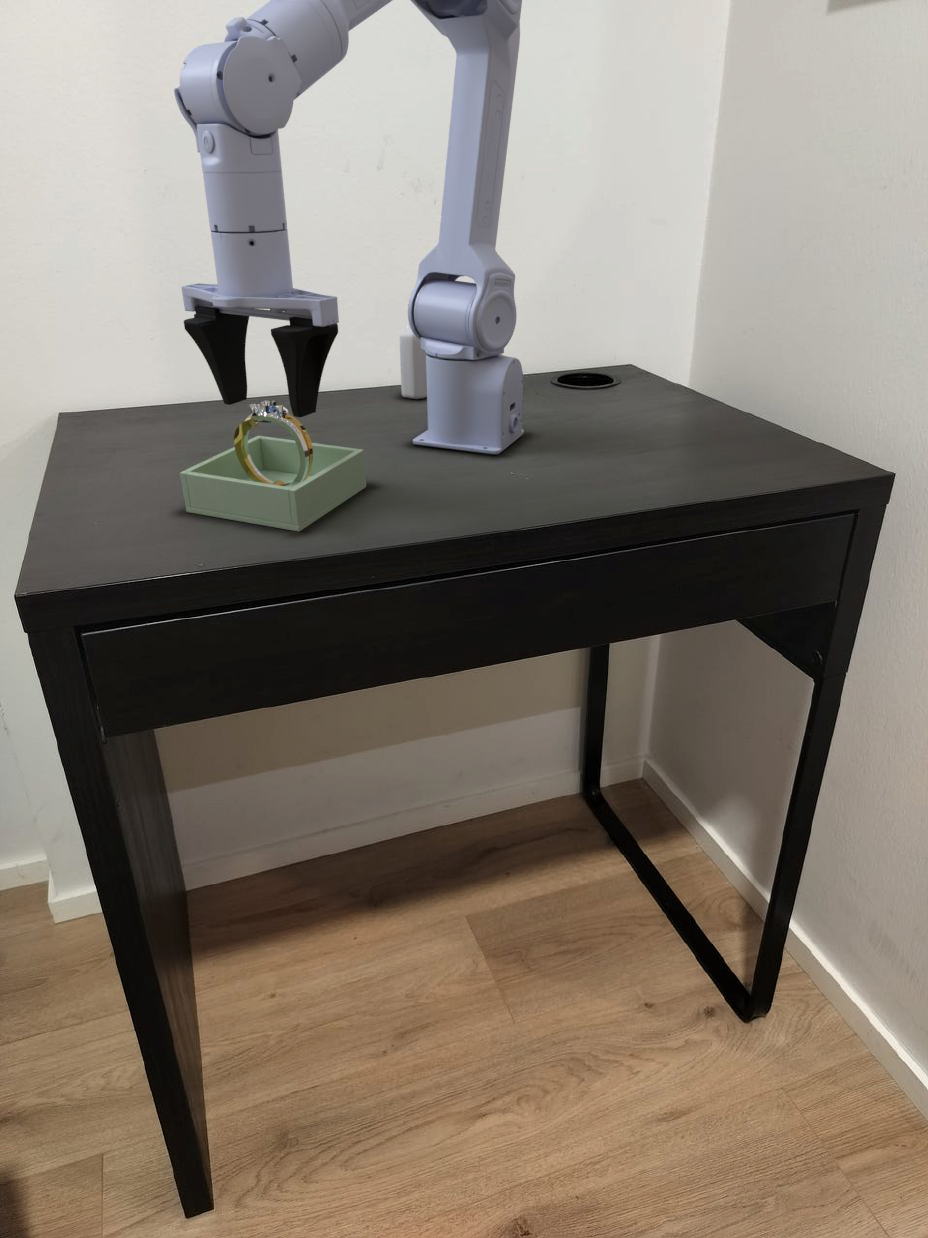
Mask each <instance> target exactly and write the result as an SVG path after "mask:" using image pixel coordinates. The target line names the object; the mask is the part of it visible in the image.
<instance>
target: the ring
mask: <svg viewBox="0 0 928 1238" xmlns="http://www.w3.org/2000/svg"><path fill="white" fill-rule="evenodd" d="M248 407H249V410H250V414H249V415H247V417H246V418H245V419H244V420H243V421H242V422H241V423H240V424H239V425H238V426H237V427H236V429H235V431H234V435H233V445H234V446H233V447H235V451H236V454H237V457H238V459H239V462H240V464H241V466H242V467H243V469H244V470H245V472H246V473H247V475H248V476H249V477H250V478H251V479H252V480H253V481H254V482H260V483H267V484H273V485H279V486H286V487H292V488H293V487H295V486H296V485H298V484H300V483H301V482H303V481H305V480H306V479H307V477H308V476H309V473H310V471H311V467H312V462H313V449H312V443H313V442H312V440H311V437H310V435H309V432H308V430H307V429H306V427H305V426H304V425H303V424H302V423H301V421H299V420H298V419H297V417H294V416H293V415H291V414H290V413H289V410H288V409H287V408H286V407H284V405H282V404H281V405H280V404H279V405H277V401H276V400H271V401H270V400H263V401H262V402H260V403H259V404H256V403H251V404H248ZM260 423H266V424H267V423H268V424H269V423H274V424H277V425H279V426H281V427H282V428H284V429H285V430H286V431H287V432H288V433H289V434H290V435H291V437H292V439H293V440H295V442H296V444H297V447H298V450H299V454H300V469H299V472H298V475H297V477H296V478H295V480H294V481H293V482H291V483H288V484H284V482H282V481H276V482H273V481H271V480H269V479H267V478H266V477H265V476H263V475H262V474H261V473H260V472H259V471H258V469H257V468H256V466H255V465H254V463H253V461H252V459H251V457H250V454H249V450H248V440H249V436H250V432H251V430H252V429H253V428H254V427H255V426H258V425H259V424H260Z"/></svg>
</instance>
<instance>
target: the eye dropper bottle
mask: <svg viewBox="0 0 928 1238" xmlns="http://www.w3.org/2000/svg"><path fill="white" fill-rule="evenodd" d="M399 361H400V362H399V363H400V364H399V365H400V387H401V388H400V390H401V396H402V397H403V398H405V399H411V400H420V399H427V376H426V351H424V350H421V340H420V339H418V338H417V337H416V336H415V335H414V333H413V332H412V330H411V327H410V324H409V323H408V324H407V325H406V326H404V328H403V329H402V330H401V332H400V334H399Z"/></svg>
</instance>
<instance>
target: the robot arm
mask: <svg viewBox="0 0 928 1238" xmlns="http://www.w3.org/2000/svg"><path fill="white" fill-rule="evenodd" d="M392 1H393V0H269V1H268V2H266V3H265V4H264V5H262V7H260V8H258V9H257V10H256V11H255V12H253V13H252V14H250V15H249V16H248V17H247V18H245V17H244V16H238V17H234V18H233V19H231V20H230V21H229V22H227V23H226V24H225V29H226V31H227V34H226V35H225V37H224V39H223V41H222V42H215V43H205V44H202V45H198V46H196V47H195V48H193V49H192V50H191V51H190V52H189V53H188V54H187V55H186V57H185V59H184V61H183V65H184V66H183V67H182V68H181V69H180V73H179V74H180V75H179V86H177V87H175V88H174V89H173V93H174V97H175V101H176V104H177V107H178V109H179V111H180V114H181V115H182V117H183V118H184V120H185V121H186V122H187V124H188V125H189V126H190V128H191V129H192V132H193V134H194V137H195V143H196V151H197V153H199V155H200V161H201V171H202V178H203V185H204V186H203V187H204V193H205V201H206V208H207V215H208V223H209V230H210V236H211V243H212V251H213V261H214V267H215V273H216V281H217V283H203V282H200V283H193V284H186V285H181V294H182V300H183V306H184V311H185V312H194V314H193V317H191V318H187V319H184V320H183V326H184V330H185V331H186V332H187V334H188V335H189V336H190V338H191V340H192V341H193V342H194V343H195V345H196V346H197V347H198V349H199V351H200V352H201V354H202V356H203V358H204V359H205V361H206V364H208V367H209V370H210V372H211V373H212V376H213V379H214V381H215V384H216V386H217V389H218V391H219V394H220V396H221V399H222V401H223V403H224V405H229V406H231V405H233V404H237V403H241V402H243V401H246V400H247V399H248V378H247V366H246V343H247V332H248V326H249V320H250V317H253V318H254V317H255V318H263V319H270V320H271V319H272V320H279V321H288V322H289V324H287V325H282V326H277V327H274V328H270V335H271V337H272V339H273V342H274V344H275V346H276V348H277V351H278V353H279V356H280V359H281V362H282V365H283V369H284V370H283V371H284V373H285V379H286V383H287V384H286V386H287V392H288V399H289V406H290V409H291V413H292V416H293V417H294V418H304V417H306V416H309V415H312V414H314V413H316V411H317V405H318V397H319V391H320V385H321V380H322V376H323V372H324V368H325V366H326V362H327V359H328V355H329V353H330V351H331V349H332V346H333V344H334V342H335V339H336V338H337V335H338V334H339V325H338V323H339V322H340V321H339V320H340V318H339V306H338V296H335V295H326V294H321V293H316V292H312V291H307V290H303V289H298V288H295V287H294V284H293V275H292V274H293V273H292V265H291V263H292V262H291V252H290V242H289V241H290V240H289V232H288V231H289V229H288V222H287V211H286V209H287V208H286V201H285V199H286V198H285V189H284V177H283V169H282V168H283V167H282V157H281V147H280V138H279V137H280V135H279V130H280V129H284V128H285V127H286V126H287V124H288V122H289V120H290V118H291V115H292V112H293V108H294V101H295V100H297V98H299V97H300V96H302V94H303V93H305V92H306V91H307V90H309V88H311V87H312V86H313V85H314V84H316V83H317V82H318V81H319V80H320V79H322V78H323V77H324V76H325V75H326V74H328V73H329V72H330V71H331V70H332V69H335V67H336V66H337V65H339V64H340V63H341V62H342V61H344V59H345V58H346V56H347V54H348V50H349V43H350V41H349V40H350V36H349V32H351V31H352V30H353V29H354V28H356V27H357V26H359V25H360V24H362V23H363V22H365V20H367V19H369V18H370V17H371V16H373V15H374V14H376V13H377V12H378V11H379V10H381V9H383V8H384V7H386V6H387V5H389V4H390V3H391V2H392ZM410 1H411V3H412V4H413V5H414V6H415V7H416V8H417V9H418V11H420V12H421V14H422V15H423V16H424V17H425V18H426V19H427V20H428V21H429V22H430V24H431V25H433V26H434V28H435V29H436V30H437V31H438V32H439V33H440V34H441V35H442V36H443V37H446V38H447V39H448V40H449V42H450V44H451V45H452V48H453V49H454V51H455V55H456V57H455V68H454V77H453V78H454V79H453V86H452V87H453V89H452V98H451V108H450V120H449V129H448V142H447V150H446V151H447V152H446V160H445V171H444V172H445V173H444V182H443V191H442V192H443V193H442V201H441V202H442V204H441V214H440V223H439V234H438V236H439V237H438V242H437V244H436V245H435V246H434V247H433V248H432V249H431V250H430V251H429V252H428V253H427V254H426V255H425V256H424V257H423V258H422V260H421V261H420V262H419V263H418V270H417V276H416V277H417V278H416V281H415V285H414V287H413V289H412V291H411V293H410V296H409V299H408V303H407V319H408V324H410V327H411V330H412V332H413V333H414V335H415V336H416V337H417V338H418V339H420V340H421V350H424V351H426V376H427V397H426V410H427V413H426V415H427V429H426V430H425V431H424V432H422V433H420V434H419V435H417V436H416V437H414V438H413V439H412V444H414V445H417V446H423V447H432V448H440V449H449V450H456V451H463V452H464V451H465V452H471V453H478V454H479V453H480V454H486V455H500V454H501V453H502V452H503V451H504V450H506V449H507V448H508V447H510V445H512V444H513V443H514V442H515V441H517V440H518V439H519V438H520V437H522V436H523V435H524V434H525V430H524V429H523V401H524V400H523V398H524V397H523V395H524V393H523V392H524V372H523V366H522V362H521V361H520V359H518V358H516V357H514V356H507V355H504V353H505V348H506V347H507V346H508V344H509V342H510V341H511V339H512V337H513V335H514V332H515V330H516V325H517V305H516V300H515V282H516V274H515V272H514V271H513V270H512V268H511V267H510V266H509V265H508V264H507V263H506V262H505V260H504V259H503V258H502V257H501V256H500V255H499V253H498V252H497V250H496V247H497V246H496V245H497V238H498V231H499V223H500V212H501V204H502V195H503V188H504V179H505V171H506V162H507V161H506V160H507V154H508V144H509V136H510V127H511V120H512V111H513V101H514V95H515V85H516V77H517V69H518V68H517V67H518V60H519V52H520V51H519V50H520V43H521V42H520V41H521V15H522V5H523V0H410ZM461 277H468V278H470V279H472V280H473V281H474V282H469V281H468V282H467V281H460V280H457V279H459V278H461Z"/></svg>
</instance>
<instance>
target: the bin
mask: <svg viewBox="0 0 928 1238" xmlns="http://www.w3.org/2000/svg"><path fill="white" fill-rule="evenodd" d="M311 443H312V449H313V462H312V467H311V471H310V473H309V476H308V477H307V479H306V480H305V481H303V482H301V483H300V484H298V485H296V486H295V487H293V488H292V487H286V486H279V485H273V484H267V483H260V482H254V481H253V480H252V479H251V478H250V477H249V476H248V475H247V473H246V472H245V470H244V469H243V467H242V466H241V464H240V462H239V459H238V457H237V454H236V451H235V446H233V447H231V448H229V449H227V450H225V451H222V452H220V453H218V454H216V455H214V456H212V457H210V458H208V459H206V460H203V461H201V462H199V463H197V464H195V465H193V466H191V467H189V468H187V469H185V470H182V471H181V472H179V477H180V482H181V483H180V484H181V488H182V495H183V500H184V506H185V512H186V513H190V514H196V515H201V516H208V517H212V518H218V519H225V520H230V521H236V522H242V523H247V524H253V525H259V526H263V527H264V526H265V527H271V528H276V529H281V530H288V531H293V532H301V531H302V530H304V529H306V528H307V527H308V526H310V525H311V524H313V523H314V522H316V521H317V520H320V519H321V518H322V517H324V516H325V515H326V514H328V513H329V512H331V511H333V510H334V509H335V508H337V507H339V506H340V505H342V504H343V503H344V502H346V501H347V500H349V499H350V498H352V497H353V496H355V495H356V494H358V493H359V492H361V491H363V490H364V489H365V488H367V478H366V477H367V475H366V460H365V450H364V449H362V448H355V447H347V446H339V445H331V444H323V443H317V442H311ZM248 450H249V454H250V457H251V459H252V461H253V463H254V465H255V466H256V468H257V469H258V471H259V472H260V473H261V474H262V475H263V476H265V477H266V478H267V479H269V480H271V481H273V482H276V481H282V482H284V484H288V483H291V482H293V481H294V480H295V478H296V477H297V475H298V472H299V469H300V454H299V450H298V447H297V444H296V442H295V440H294V439H286V438H280V437H272V436H264V435H257V436H255V437H252V438H250V439H248Z"/></svg>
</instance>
